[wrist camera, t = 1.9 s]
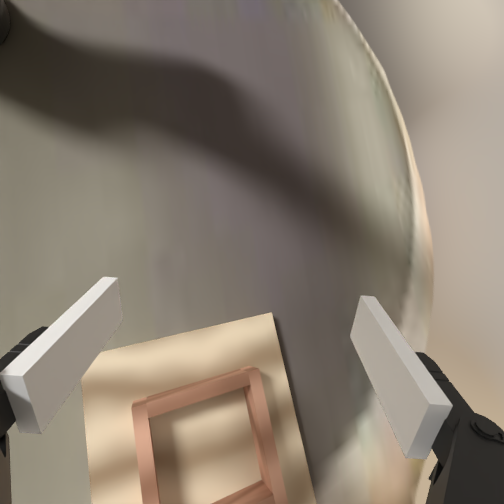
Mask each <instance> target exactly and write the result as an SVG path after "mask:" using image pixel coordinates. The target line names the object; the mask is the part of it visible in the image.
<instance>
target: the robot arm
mask: <svg viewBox="0 0 504 504" xmlns="http://www.w3.org/2000/svg"><path fill="white" fill-rule="evenodd" d="M9 28H10V15H9V12H8V9H7V6H6V4H5V2H4V0H0V44H1V43H2V42H3V41H4V39H5V38H6V36H7V34H8V32H9ZM122 321H123V316H122V308H121V300H120V292H119V284H118V278H113V277H103V278H102V279H100V280H99V281H98V282H97V283H96V284H95V285H94V286H93V287H92V288H91V289H90V290H89V291H88V292H86V293H85V294H84V295H83V296H82V297H81V298H80V299H79V300H78V301H77V302H76V303H75V304H74V305H72V306H71V307H70V308H69V309H68V310H67V311H66V312H65V313H64V314H63V315H62V316H61V317H60V318H58V319H57V320H56V321H55V322H54V323H53V324H52V325H51V326H50V327H41V328H39V329H37V330H35V331H33V332H32V333H30V334H28V335H27V336H26V337H25V338H24V339H23V340H21V341H20V342H19V344H18V345H16V346H15V347H14V348H12V349H11V350H10V352H8V353H7V354H6V355H4V356H3V357H2V358H1V359H0V504H12V502H11V475H10V449H9V436H8V434H7V431H8V429H9V428H10V427H11V426H12V425H13V424H14V422H15V421H16V424H17V426H18V429H19V432H21V433H36V434H42V432H43V431H44V429H45V428H46V427H47V425H48V424H49V422H50V421H51V420H52V418H53V417H54V415H55V414H56V413H57V411H58V410H59V409H60V407H61V406H62V404H63V403H64V402H65V400H66V399H67V397H68V396H69V395H70V393H71V392H72V390H73V389H74V388H75V386H76V385H77V384H78V382H79V381H80V379H81V378H82V377H83V375H84V374H85V372H86V371H87V370H88V368H89V367H90V365H91V364H92V363H93V361H94V360H95V359H96V357H97V356H98V354H99V353H100V352H101V350H102V349H103V347H104V346H105V345H106V343H107V342H108V340H109V339H110V338H111V336H112V335H113V334H114V332H115V331H116V329H117V328H118V327H119V325H120V324H121V322H122ZM350 337H351V340H352V342H353V344H354V346H355V348H356V351H357V353H358V355H359V357H360V359H361V362H362V364H363V366H364V368H365V370H366V373H367V375H368V377H369V379H370V381H371V383H372V386H373V388H374V390H375V392H376V394H377V397H378V399H379V401H380V403H381V405H382V408H383V410H384V412H385V414H386V416H387V419H388V421H389V423H390V425H391V427H392V430H393V432H394V434H395V436H396V438H397V441H398V443H399V445H400V447H401V449H402V451H403V454H404V456H405V458H413V459H427V457H428V455H429V453H430V451H431V449H433V451H434V453H435V455H436V457H437V458H438V461H437V464H436V465H435V467H434V469H433V471H432V473H431V475H430V477H429V480H431V485H430V489H429V493H428V497H427V501H426V504H504V431H503V430H502V429H501V428H500V427H499V426H497V425H496V424H495V423H494V422H492V421H491V420H489V419H488V418H486V417H484V416H482V415H479V414H477V413H474V412H473V410H472V409H471V408H470V407H469V405H468V404H467V403H466V402H465V400H464V399H463V398H462V396H461V395H460V394H459V393H458V391H457V390H456V389H455V387H454V386H453V385H452V383H451V382H449V380H448V378H447V377H446V376H445V374H443V373H442V371H441V369H440V368H439V367H438V365H437V364H436V363H435V362H434V361H433V360H432V359H431V358H429V357H428V356H427V355H426V354H424V353H421V352H414V351H413V349H412V348H411V347H410V345H409V344H408V342H407V341H406V340H405V338H404V337H403V335H402V334H401V333H400V331H399V330H398V328H397V327H396V326H395V324H394V323H393V321H392V320H391V319H390V317H389V316H388V314H387V313H386V312H385V310H384V309H383V308H382V306H381V305H380V303H379V302H378V301H377V299H376V298H375V297H374V296H360V300H359V304H358V308H357V311H356V315H355V319H354V323H353V327H352V331H351V335H350Z"/></svg>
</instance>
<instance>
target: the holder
mask: <svg viewBox="0 0 504 504" xmlns="http://www.w3.org/2000/svg"><path fill="white" fill-rule="evenodd" d="M81 383H82V395H83V407H84V418H85V430H86V442H87V453H88V465H89V477H90V488H91V500H92V504H317V503H316V499H315V495H314V490H313V486H312V482H311V478H310V473H309V469H308V465H307V461H306V456H305V452H304V448H303V444H302V439H301V435H300V431H299V427H298V422H297V418H296V414H295V410H294V405H293V401H292V397H291V393H290V388H289V384H288V380H287V376H286V371H285V367H284V363H283V359H282V354H281V350H280V346H279V342H278V337H277V333H276V329H275V324H274V320H273V316H272V312H271V313H266V314H262V315H258V316H254V317H249V318H245V319H241V320H236V321H232V322H228V323H224V324H219V325H215V326H211V327H206V328H202V329H198V330H194V331H189V332H185V333H181V334H176V335H172V336H168V337H163V338H159V339H155V340H151V341H146V342H142V343H138V344H133V345H129V346H125V347H121V348H116V349H112V350H108V351H103V352H100V353H99V354H98V356H97V357H96V359H95V360H94V361H93V363H92V364H91V365H90V367H89V368H88V370H87V371H86V372H85V374H84V375H83V377H82V378H81Z"/></svg>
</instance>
